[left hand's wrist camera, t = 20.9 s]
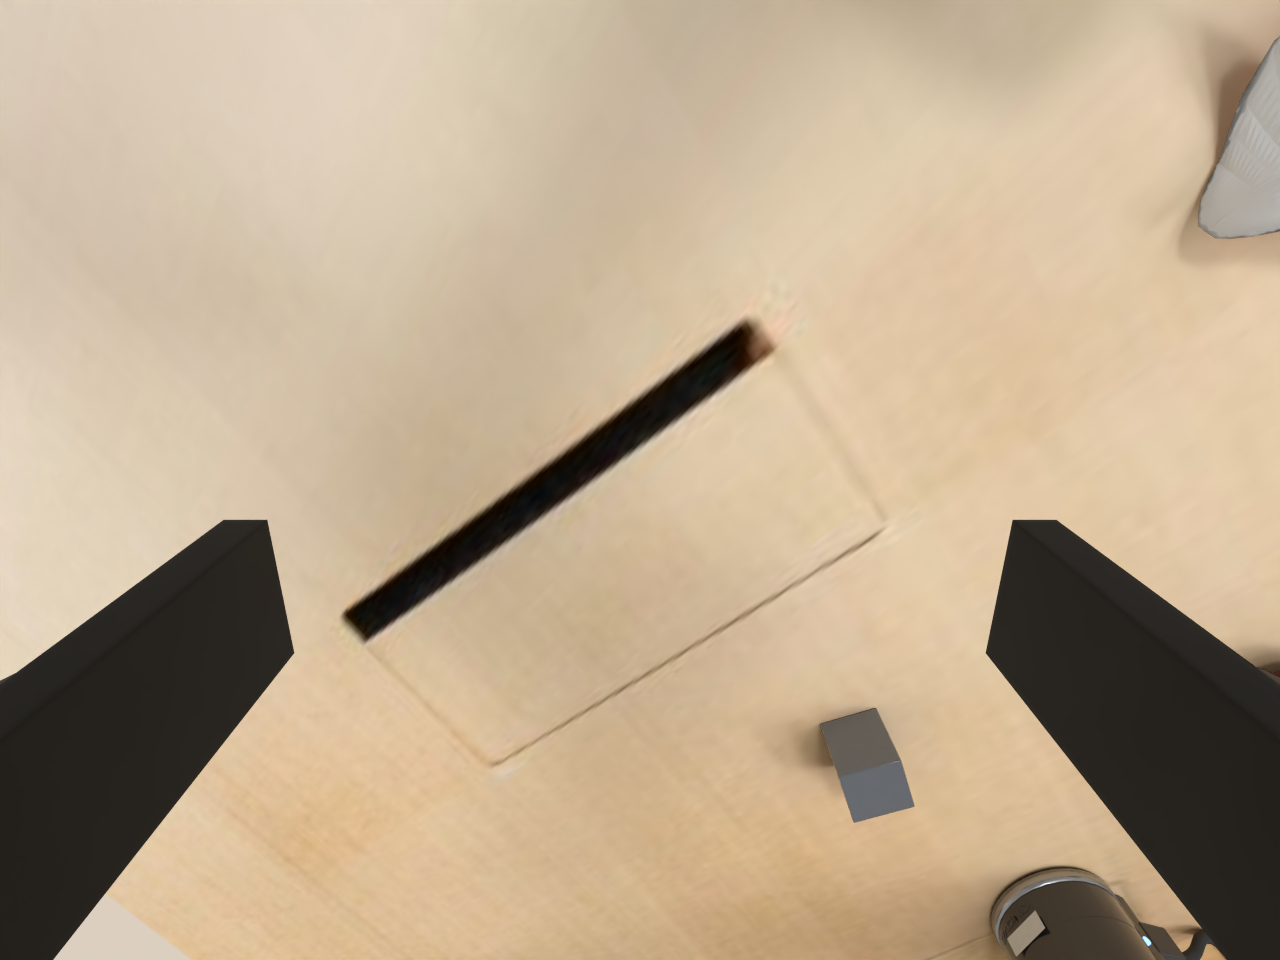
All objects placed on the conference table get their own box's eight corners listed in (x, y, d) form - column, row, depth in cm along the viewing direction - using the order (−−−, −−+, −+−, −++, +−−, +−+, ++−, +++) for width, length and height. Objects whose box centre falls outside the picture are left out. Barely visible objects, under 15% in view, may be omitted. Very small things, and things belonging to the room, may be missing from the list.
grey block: (819, 723, 49) (838, 777, 44) (876, 707, 49) (901, 760, 44) (833, 766, 50) (853, 823, 46) (889, 751, 50) (914, 807, 45)
